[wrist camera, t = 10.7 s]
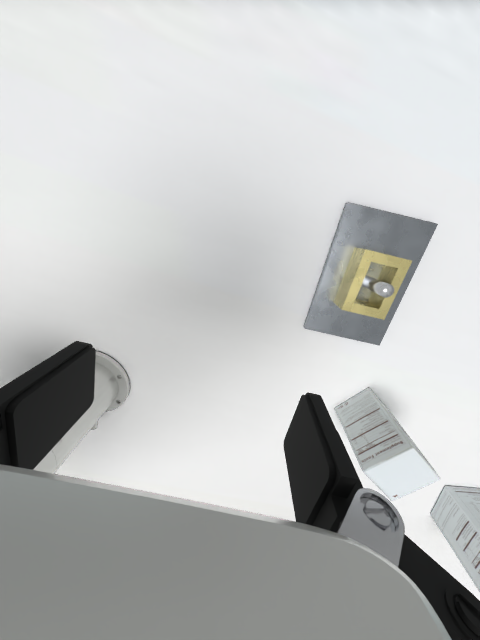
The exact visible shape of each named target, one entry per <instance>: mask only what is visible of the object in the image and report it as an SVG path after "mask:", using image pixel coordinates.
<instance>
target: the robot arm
mask: <svg viewBox="0 0 480 640" xmlns="http://www.w3.org/2000/svg"><path fill="white" fill-rule="evenodd" d="M129 389H130V384H129V379H128V377H127V374H126V372H125V371H124V369H123V368H122V367H121V366H120V364H119V363H117V362H116V361H115V360H114V359H113V358H111V357H109V356H108V355H106V354H103V353H101V352H97V351H96V350H95V349H94V348H93V347H92V345H91V344H88V343H84V342H79V341H76V342H74V343H72V344H70V345H69V346H67V347H66V348H64V349H62V350H61V351H59V352H58V353H56V354H55V355H53V356H51V357H50V358H48V359H47V360H45V361H43V362H42V363H40V364H39V365H37V366H35V367H34V368H32V369H31V370H29V371H27V372H26V373H24V374H23V375H21V376H19V377H18V378H16V379H15V380H13V381H11V382H10V383H8V384H7V385H5V386H3V387H2V388H0V640H480V601H479V600H478V599H477V598H476V597H475V596H474V595H473V594H472V593H471V592H470V591H468V590H467V589H466V588H465V587H464V586H463V585H462V584H460V583H459V582H458V581H457V580H456V579H455V578H454V577H453V576H451V575H450V574H449V573H448V572H447V571H446V570H445V569H443V568H442V567H441V566H440V565H439V564H438V563H437V562H435V561H434V560H433V559H432V558H431V557H430V556H429V555H427V554H426V553H425V552H424V551H423V550H422V549H421V548H419V547H418V546H417V545H416V544H415V543H414V542H413V541H411V540H410V539H409V538H408V537H407V536H406V535H405V534H404V532H405V530H404V523H403V520H402V517H401V516H400V514H399V512H398V511H397V509H396V508H395V507H394V506H393V504H392V503H391V502H390V501H389V500H388V499H386V498H385V497H384V496H383V495H381V494H380V493H378V492H377V491H374V490H372V489H368V488H363V486H362V484H361V482H360V480H359V477H358V475H357V473H356V471H355V468H354V466H353V464H352V462H351V460H350V457H349V455H348V453H347V451H346V449H345V446H344V444H343V442H342V440H341V438H340V435H339V433H338V432H337V430H336V429H335V426H334V424H333V422H332V420H331V417H330V415H329V413H328V411H327V408H326V406H325V404H324V402H323V399H322V397H321V396H320V395H317V394H312V393H306V395H302V396H301V398H300V401H299V404H298V406H297V409H296V411H295V414H294V416H293V419H292V421H291V424H290V426H289V429H288V432H287V434H286V437H285V439H284V451H285V457H286V463H287V469H288V475H289V481H290V487H291V493H292V499H293V505H294V511H295V517H296V522H294V521H289V520H285V519H280V518H276V517H271V516H267V515H262V514H257V513H252V512H247V511H242V510H237V509H232V508H227V507H222V506H218V505H213V504H208V503H203V502H198V501H193V500H188V499H182V498H177V497H172V496H167V495H162V494H157V493H152V492H147V491H142V490H136V489H131V488H126V487H121V486H116V485H111V484H105V483H100V482H95V481H90V480H84V479H79V478H74V477H68V476H63V475H58V474H54V473H55V472H56V471H57V470H58V468H59V467H60V466H61V465H62V464H63V462H64V461H65V460H66V459H67V457H68V456H69V455H70V454H71V453H72V451H73V450H74V449H75V448H76V446H77V445H78V444H79V443H80V441H81V440H82V439H83V438H84V437H85V435H86V434H87V433H88V432H89V430H90V429H91V430H94V429H96V428H97V426H98V419H99V418H100V417H101V416H102V414H103V413H104V412H107V411H111V410H114V409H116V408H118V407H119V406H120V405H122V403H123V402H124V401H125V400H126V398H127V396H128V394H129Z"/></svg>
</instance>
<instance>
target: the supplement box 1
mask: <svg viewBox="0 0 480 640" xmlns="http://www.w3.org/2000/svg"><path fill="white" fill-rule="evenodd" d="M335 411H336V413H337V415H338V417H339V420H340V422H341V424H342V426H343V429H344V431H345V433H346V435H347V438H348V440H349V442H350V444H351V447H352V449H353V451H354V453H355V456H356V458H357V460H358V462H359V464H360V467H361V469H362V471H363V472H364V474H365V475H366V476H367V477H368V478H369V479H370V480H371V481H372V482H373V483H374V484H375V485H376V486H377V487H378V488H379V489H380V490H381V491H382V492H383V493H384V494H385V495H386V496H387V497H388V498H389V499H390V500H391V501H393V500H396V499H399V498H401V497H403V496H406V495H408V494H410V493H412V492H414V491H416V490H419V489H421V488H423V487H425V486H428V485H430V484H432V483H434V482H436V481H438V480H440V477H439V476H438V474H437V473H436V472H435V470H434V469H433V468H432V466H431V465H430V464H429V462H428V461H427V460H426V458H425V457H424V456H423V454H422V453H421V452H420V450H419V449H418V448H417V446H416V445H415V444H414V442H413V441H412V440H411V438H410V437H409V436H408V435H407V433H406V432H405V431H404V429H403V428H402V427H401V425H400V424H399V422H398V421H397V420H396V419H395V417H394V416H393V415H392V413H391V412H390V411H389V410H388V409H387V408H386V407H385V405H384V404H383V403H382V402H381V401H380V400H379V398H378V397H377V396H376V395H375V394H374V392H373V391H372V390H371V389H370V388H367V389H365V390H363V391H362V392H360V393H358V394H357V395H355V396H353V397H352V398H350V399H348V400H347V401H345V402H343V403H342V404H340V405H339V406H337V407H335Z"/></svg>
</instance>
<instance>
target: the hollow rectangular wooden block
mask: <svg viewBox="0 0 480 640" xmlns="http://www.w3.org/2000/svg"><path fill="white" fill-rule="evenodd" d="M371 262H374V263H378V264H382V265H384V266H383V268H382V270H381V273H380V275H379V277H378V280H381V281H383V282H385V283H388V284H390V285H392V286H393V287H394V293H393V294H392V295H391V296H390V297H387V298H385V297H382V296H380V295H379V294H377V293H375V292H373V291H372V293H371V296H370V298H369V300H368V302H367V301H363V300H358V299H356V297H357V295H358V293H359V290H360V288H361V285H362V283H363V281H364V278H365V276H366V273H367V271H368V269H369V266H370V264H371ZM411 263H412V260H407V259H403V258H399V257H395V256H391V255H387V254H383V253H379V252H375V251H371V250H367V249H361V248H356V247H355V248H354V250H353V253H352V255H351V258H350V261H349V263H348V266H347V268H346V271H345V274H344V276H343V279H342V281H341V284H340V287H339V289H338V292H337V294H336V297H335V300H334V303H335V304H336V305H337V306H338V307H339V308H340V309H341V310H345V311H349V312H353V313H357V314H362V315H366V316H370V317H374V318H379V319H383V320H384V319H385V317H386V315H387V313H388V311H389V309H390V307H391V305H392V303H393V301H394V299H395V296H396V294H397V292H398V290H399V288H400V286H401V284H402V282H403V280H404V278H405V275H406V273H407V271H408V269H409V267H410V265H411Z"/></svg>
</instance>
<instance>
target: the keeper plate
mask: <svg viewBox="0 0 480 640" xmlns="http://www.w3.org/2000/svg"><path fill="white" fill-rule="evenodd" d="M437 225H438V224H436V223H432V222H427V221H423V220H419V219H415V218H411V217H407V216H403V215H399V214H395V213H390V212H386V211H382V210H378V209H374V208H370V207H366V206H362V205H358V204H353V203H349V202H348V203H346V204H345V207H344V210H343V213H342V216H341V219H340V222H339V224H338V227H337V230H336V233H335V236H334V239H333V242H332V245H331V248H330V251H329V254H328V256H327V259H326V262H325V265H324V268H323V271H322V274H321V277H320V280H319V283H318V286H317V289H316V291H315V294H314V297H313V300H312V303H311V306H310V309H309V312H308V315H307V318H306V321H305V323H304V328H305V329H309V330H314V331H318V332H323V333H327V334H331V335H336V336H340V337H345V338H349V339H353V340H358V341H362V342H367V343H371V344H375V345H380V343H381V341H382V339H383V337H384V335H385V333H386V331H387V329H388V326H389V324H390V322H391V320H392V318H393V316H394V314H395V312H396V310H397V308H398V306H399V304H400V302H401V299H402V297H403V295H404V293H405V291H406V289H407V287H408V285H409V283H410V281H411V279H412V277H413V275H414V273H415V270H416V268H417V266H418V264H419V262H420V260H421V258H422V256H423V254H424V252H425V250H426V248H427V246H428V244H429V241H430V239H431V237H432V235H433V233H434V231H435V229H436V227H437ZM355 247H356V248H361V249H367V250H371V251H375V252H379V253H383V254H387V255H391V256H395V257H399V258H403V259H407V260H412V263H411V265H410V267H409V269H408V271H407V273H406V275H405V278H404V280H403V282H402V284H401V286H400V288H399V290H398V292H397V294H396V296H395V299H394V301H393V303H392V305H391V307H390V309H389V311H388V313H387V315H386V317H385V319H384V320H383V319H379V318H374V317H370V316H366V315H362V314H357V313H353V312H349V311H345V310H341V309H340V308H339V307H338V306H337V305H336V304H335V303H334V300H335V297H336V294H337V292H338V289H339V287H340V284H341V281H342V279H343V276H344V274H345V271H346V268H347V266H348V263H349V261H350V258H351V255H352V253H353V250H354V248H355ZM383 266H384V265H382V264H378V263H374V262H371V264H370V266H369V269H368V271H367V273H366V276H365V278H364V281H363V283H362V285H361V288H360V290H359V293H358V295H357V297H356V299H358V300H363V301H367V302H368V300H369V298H370V296H371V293H372V291H373V292H375V293H377V294H379V295H380V296H382V297H385V298H387V297H390V296H391V295H392V294H393V293H394V287H393V286H392V285H390V284H388V283H385V282H383V281H381V280H378V277H379V275H380V273H381V270H382V268H383Z"/></svg>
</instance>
